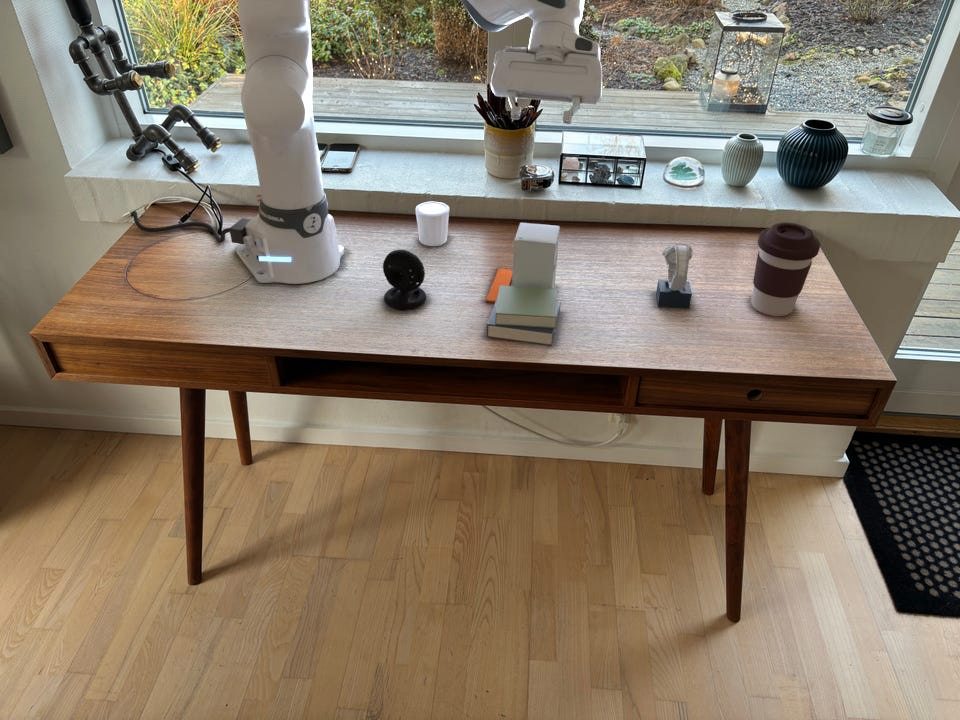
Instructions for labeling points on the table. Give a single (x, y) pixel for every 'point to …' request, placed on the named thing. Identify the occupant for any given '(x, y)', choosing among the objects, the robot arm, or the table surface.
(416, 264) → the webcam
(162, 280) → the table surface
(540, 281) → the white packaging box
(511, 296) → the book stack
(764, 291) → the coffee cup
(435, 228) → the white cup
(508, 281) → the orange rectangular block
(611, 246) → the table surface
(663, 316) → the table surface
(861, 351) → the table surface
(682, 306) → the watch
